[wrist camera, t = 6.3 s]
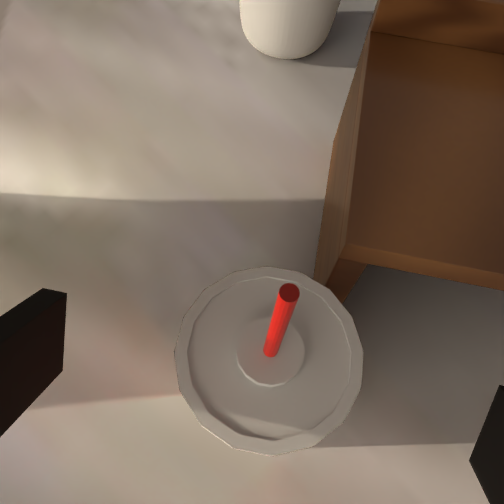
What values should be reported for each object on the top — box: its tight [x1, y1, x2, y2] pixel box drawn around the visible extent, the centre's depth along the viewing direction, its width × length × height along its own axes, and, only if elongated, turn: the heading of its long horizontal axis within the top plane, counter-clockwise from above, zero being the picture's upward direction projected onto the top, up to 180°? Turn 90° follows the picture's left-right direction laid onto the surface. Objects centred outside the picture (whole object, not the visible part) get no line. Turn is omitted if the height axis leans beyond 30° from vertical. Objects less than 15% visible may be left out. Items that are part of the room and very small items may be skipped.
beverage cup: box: [174, 266, 364, 456], centre depth 16 cm, size 6×6×14 cm
